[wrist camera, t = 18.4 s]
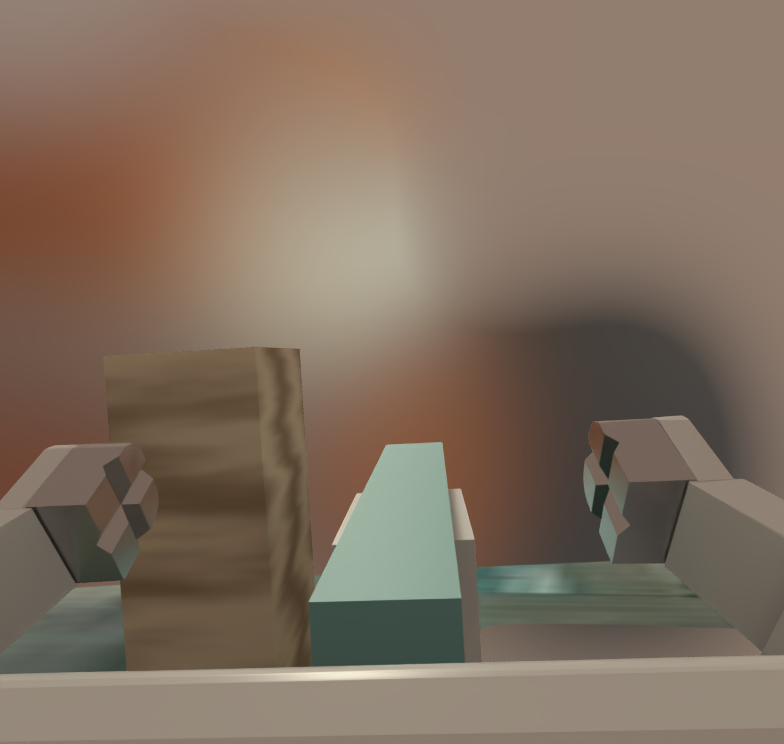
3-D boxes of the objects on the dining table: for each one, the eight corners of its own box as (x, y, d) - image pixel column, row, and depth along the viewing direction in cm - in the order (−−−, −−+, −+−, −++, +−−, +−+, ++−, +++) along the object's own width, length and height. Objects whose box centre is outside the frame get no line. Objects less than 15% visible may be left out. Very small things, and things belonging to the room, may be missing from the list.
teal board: (464, 666, 16) (461, 598, 16) (312, 668, 16) (308, 602, 16) (443, 466, 44) (442, 442, 44) (387, 469, 44) (386, 444, 44)
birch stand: (287, 843, 29) (254, 347, 28) (139, 843, 29) (103, 356, 28) (323, 716, 38) (299, 349, 38) (212, 718, 39) (186, 355, 38)
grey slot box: (492, 860, 27) (474, 539, 26) (351, 860, 27) (331, 545, 27) (473, 723, 37) (460, 488, 36) (371, 725, 37) (356, 493, 37)
